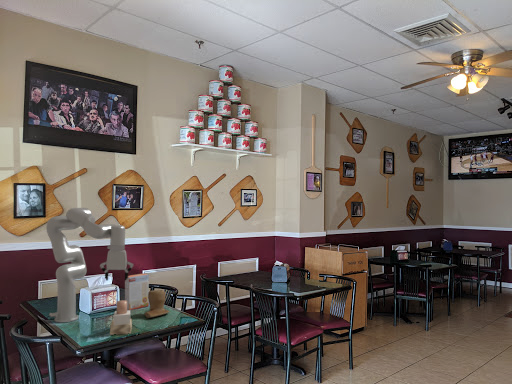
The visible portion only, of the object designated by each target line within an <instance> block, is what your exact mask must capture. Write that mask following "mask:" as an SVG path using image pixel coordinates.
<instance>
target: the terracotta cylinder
mask: <svg viewBox="0 0 512 384" xmlns="http://www.w3.org/2000/svg"><path fill="white" fill-rule="evenodd" d="M116 311H117V314H126V313H127V311H128V310H127V301H126V300H125V299H124V300H123V299H122V300H118V301H116Z"/></svg>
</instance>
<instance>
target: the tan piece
mask: <svg viewBox="0 0 512 384" xmlns="http://www.w3.org/2000/svg"><path fill="white" fill-rule="evenodd" d="M148 299H149V310H147V311H145V312H144V313H143V314H144V316H145V317H146V318H147V319H151V318H155V317H160V316H163V315H166V314H169V313H170V311H169V310H167V309H165V308H164V305H165V303H166V302H165V301H166V292H165V290H164V289H161V290H160V289H157V290H149V293H148Z"/></svg>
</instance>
